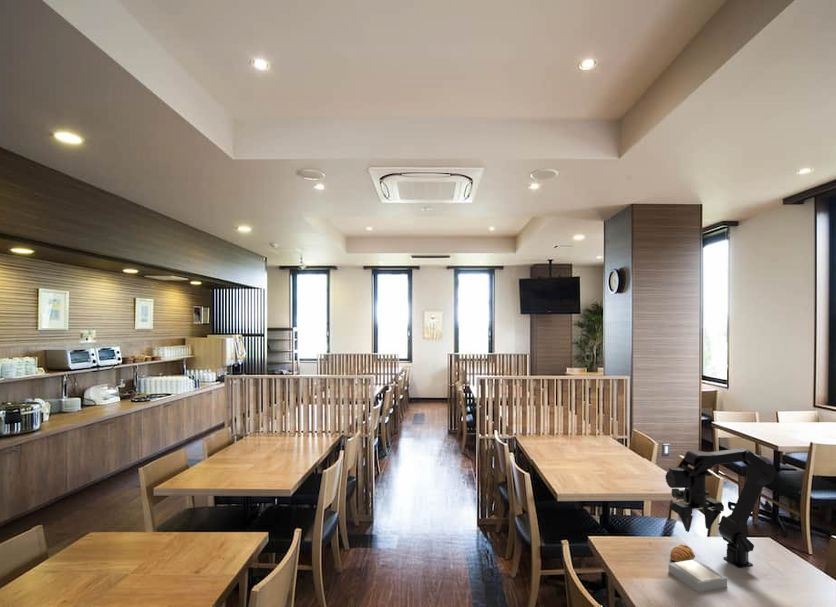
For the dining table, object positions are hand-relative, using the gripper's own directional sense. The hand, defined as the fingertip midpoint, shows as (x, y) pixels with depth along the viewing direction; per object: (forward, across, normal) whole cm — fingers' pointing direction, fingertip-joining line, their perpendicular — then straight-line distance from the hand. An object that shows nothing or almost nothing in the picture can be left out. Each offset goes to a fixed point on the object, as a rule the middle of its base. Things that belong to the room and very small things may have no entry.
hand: (697, 530), depth 161 cm
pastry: (+13, +6, -5) cm, 15 cm away
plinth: (+12, +9, +8) cm, 17 cm away
